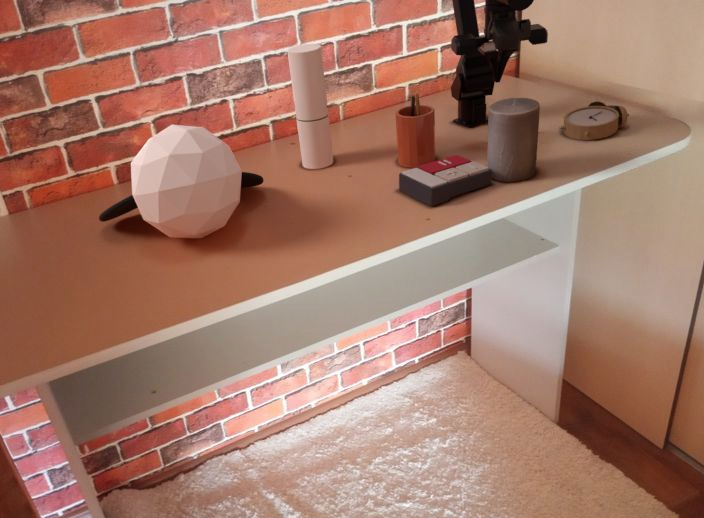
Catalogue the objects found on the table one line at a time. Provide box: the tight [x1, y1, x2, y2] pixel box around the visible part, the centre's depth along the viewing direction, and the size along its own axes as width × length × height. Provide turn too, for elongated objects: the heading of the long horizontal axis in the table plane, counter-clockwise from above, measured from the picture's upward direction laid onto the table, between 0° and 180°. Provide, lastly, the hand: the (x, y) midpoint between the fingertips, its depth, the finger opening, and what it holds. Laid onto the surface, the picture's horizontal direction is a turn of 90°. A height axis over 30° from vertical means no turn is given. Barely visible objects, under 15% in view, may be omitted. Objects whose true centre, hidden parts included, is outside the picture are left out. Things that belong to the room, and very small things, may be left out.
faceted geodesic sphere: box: [98, 124, 265, 239], centre depth 138 cm, size 35×30×22 cm
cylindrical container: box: [286, 43, 334, 170], centre depth 154 cm, size 7×7×25 cm
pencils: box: [410, 91, 421, 116], centre depth 151 cm, size 3×3×14 cm
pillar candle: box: [486, 97, 541, 183], centre depth 140 cm, size 10×10×15 cm
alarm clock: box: [558, 100, 630, 141], centre depth 156 cm, size 11×5×15 cm
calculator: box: [398, 154, 493, 207], centre depth 141 cm, size 11×4×15 cm
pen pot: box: [395, 104, 436, 169], centre depth 152 cm, size 8×8×11 cm
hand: (497, 82), depth 151 cm, fingers closed
